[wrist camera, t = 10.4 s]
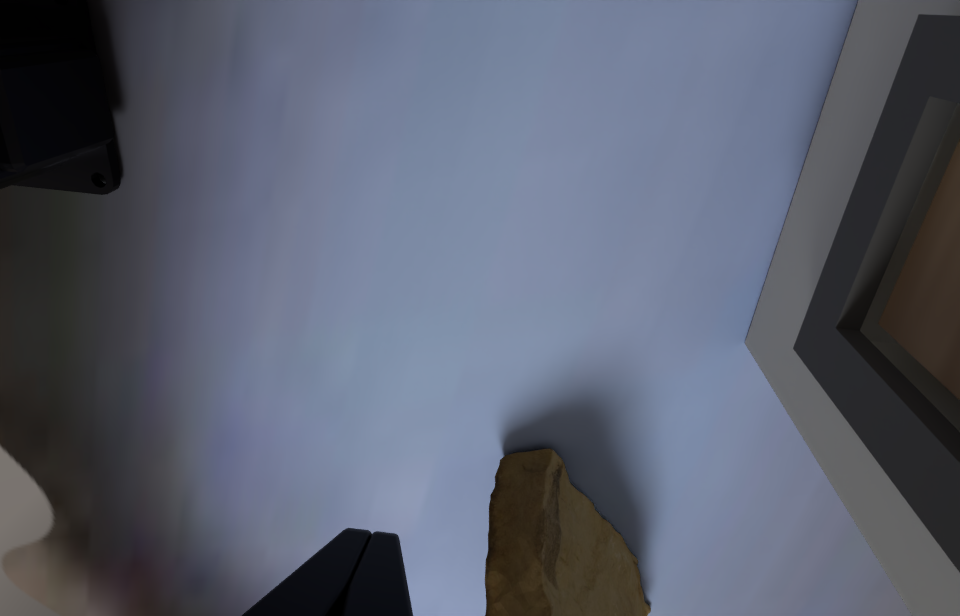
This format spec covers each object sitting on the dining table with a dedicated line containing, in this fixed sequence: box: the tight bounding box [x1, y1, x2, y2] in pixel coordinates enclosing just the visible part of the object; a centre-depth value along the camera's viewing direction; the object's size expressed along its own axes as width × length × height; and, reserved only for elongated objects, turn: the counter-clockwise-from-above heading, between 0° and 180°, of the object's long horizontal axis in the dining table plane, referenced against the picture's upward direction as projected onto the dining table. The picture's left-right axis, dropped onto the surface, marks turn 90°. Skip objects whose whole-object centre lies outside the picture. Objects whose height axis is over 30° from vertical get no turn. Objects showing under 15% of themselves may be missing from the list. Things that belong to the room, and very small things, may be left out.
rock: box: [485, 449, 651, 616], centre depth 24 cm, size 11×9×10 cm
